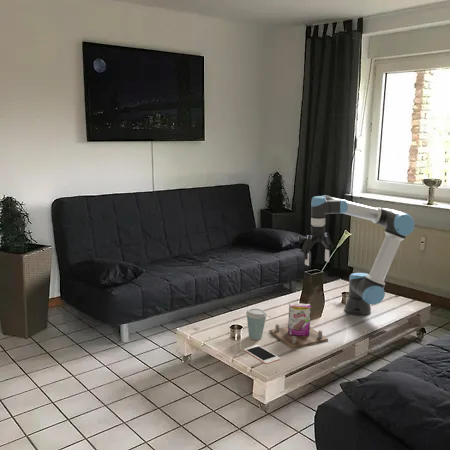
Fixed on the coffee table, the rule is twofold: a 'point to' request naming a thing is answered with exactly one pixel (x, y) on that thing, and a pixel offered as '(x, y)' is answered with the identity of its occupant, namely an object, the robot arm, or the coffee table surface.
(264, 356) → the cell phone
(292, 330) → the candy bar box
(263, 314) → the disposable coffee cup
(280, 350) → the coffee table surface
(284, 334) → the pin dock
